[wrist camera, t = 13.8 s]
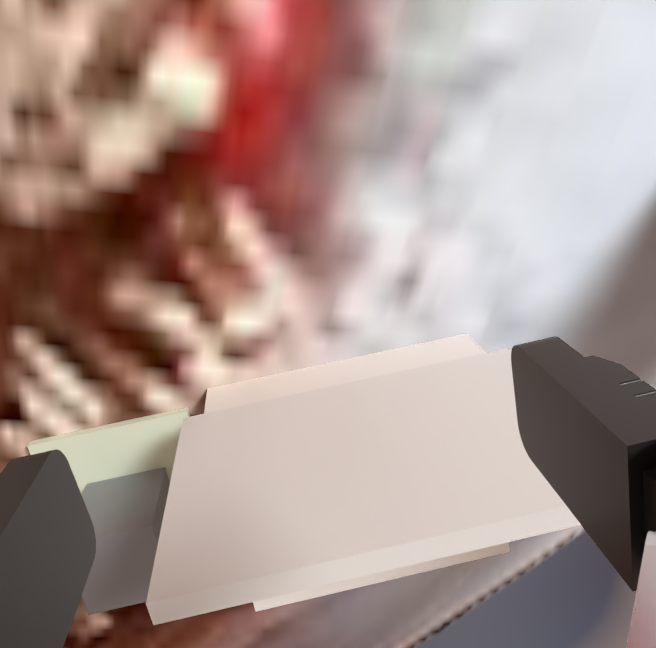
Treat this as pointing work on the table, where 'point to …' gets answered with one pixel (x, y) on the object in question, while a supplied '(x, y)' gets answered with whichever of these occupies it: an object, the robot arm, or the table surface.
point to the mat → (118, 447)
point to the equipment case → (347, 479)
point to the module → (124, 537)
